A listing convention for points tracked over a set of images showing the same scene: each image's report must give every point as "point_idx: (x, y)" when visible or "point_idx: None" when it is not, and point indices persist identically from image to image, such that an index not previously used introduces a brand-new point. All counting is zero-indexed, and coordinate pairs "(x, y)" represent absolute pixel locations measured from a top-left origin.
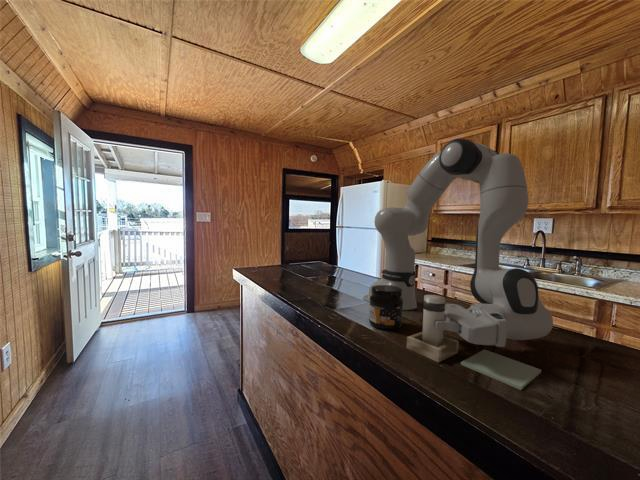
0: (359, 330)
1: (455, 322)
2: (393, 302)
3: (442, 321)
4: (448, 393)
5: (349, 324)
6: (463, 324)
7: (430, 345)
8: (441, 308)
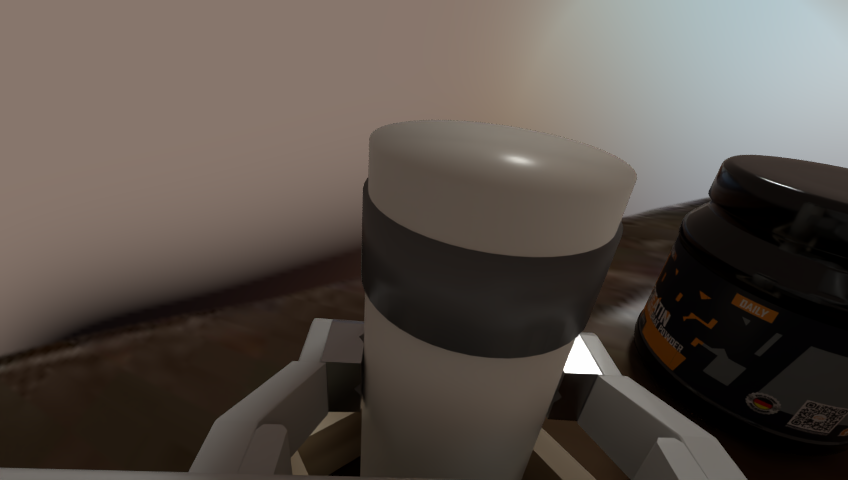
0: None
1: (229, 466)
2: (728, 249)
3: (317, 352)
4: (16, 397)
5: (623, 269)
6: (17, 468)
7: (332, 412)
8: (364, 252)
